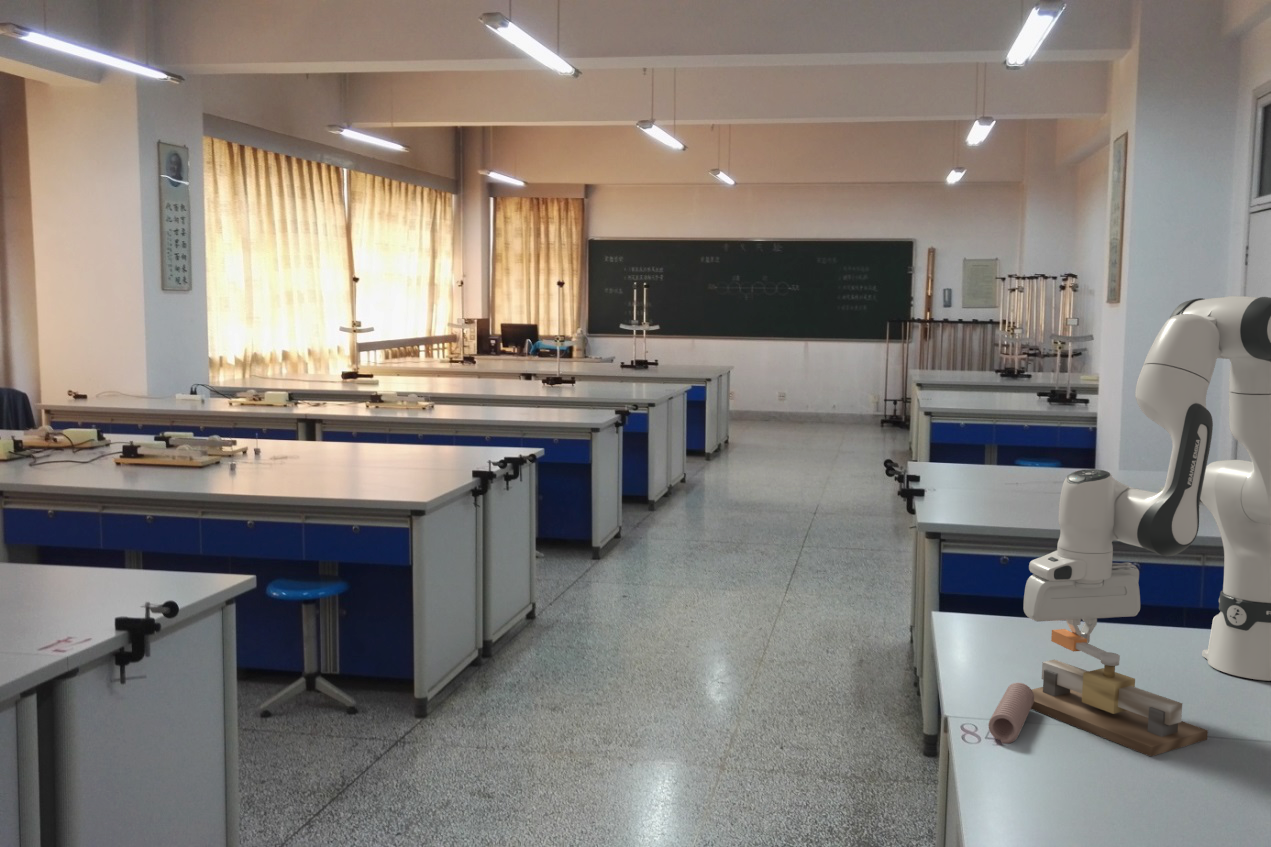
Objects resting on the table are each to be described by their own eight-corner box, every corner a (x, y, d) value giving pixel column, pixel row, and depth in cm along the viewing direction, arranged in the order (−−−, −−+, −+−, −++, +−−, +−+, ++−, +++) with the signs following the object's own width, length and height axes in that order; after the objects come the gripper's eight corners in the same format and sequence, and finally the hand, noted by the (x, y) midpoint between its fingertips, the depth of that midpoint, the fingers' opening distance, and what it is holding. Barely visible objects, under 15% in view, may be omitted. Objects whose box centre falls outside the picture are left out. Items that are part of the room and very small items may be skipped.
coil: (1020, 720, 170) (1037, 685, 186) (989, 711, 172) (1008, 677, 188) (1015, 748, 170) (1032, 711, 186) (984, 739, 172) (1004, 703, 188)
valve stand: (1068, 688, 196) (1071, 637, 195) (1207, 739, 174) (1211, 682, 173) (1013, 702, 189) (1016, 649, 188) (1150, 756, 167) (1154, 696, 166)
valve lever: (1050, 641, 193) (1051, 629, 193) (1064, 640, 194) (1065, 628, 194) (1108, 668, 179) (1109, 656, 179) (1122, 667, 180) (1123, 655, 179)
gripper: (1128, 557, 195) (1124, 634, 196) (1020, 562, 191) (1017, 640, 193) (1150, 566, 188) (1146, 645, 190) (1039, 571, 185) (1036, 651, 187)
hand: (1080, 642), depth 191 cm, fingers closed
